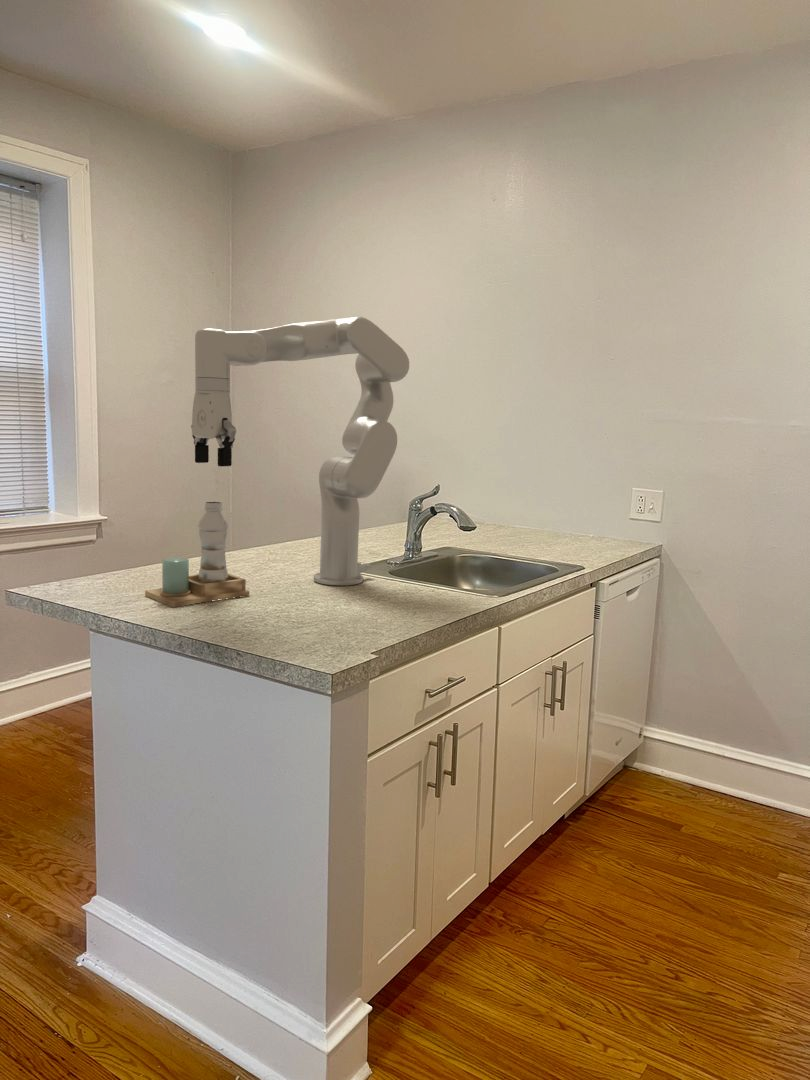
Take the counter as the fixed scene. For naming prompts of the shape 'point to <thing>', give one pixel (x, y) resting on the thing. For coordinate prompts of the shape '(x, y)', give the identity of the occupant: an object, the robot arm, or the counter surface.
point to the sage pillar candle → (175, 575)
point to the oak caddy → (202, 591)
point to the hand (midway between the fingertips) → (213, 464)
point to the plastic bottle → (213, 544)
